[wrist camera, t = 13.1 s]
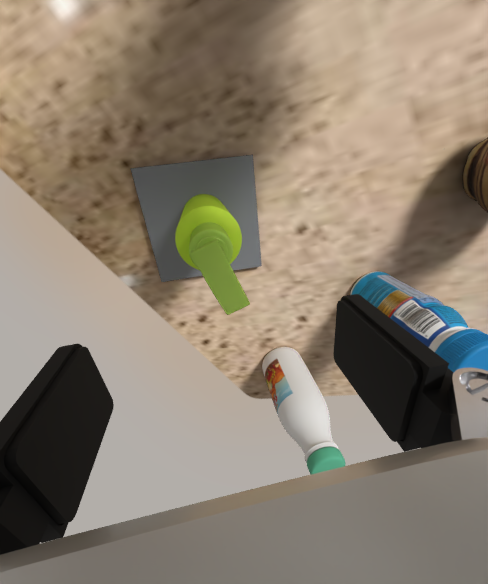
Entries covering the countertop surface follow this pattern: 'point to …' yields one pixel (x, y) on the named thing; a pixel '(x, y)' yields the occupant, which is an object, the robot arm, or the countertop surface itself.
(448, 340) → the beverage bottle
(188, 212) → the soap dispenser
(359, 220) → the countertop surface
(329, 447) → the milk bottle
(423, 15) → the countertop surface
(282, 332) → the countertop surface
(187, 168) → the charcoal mat
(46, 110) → the countertop surface
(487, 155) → the ceramic jug
